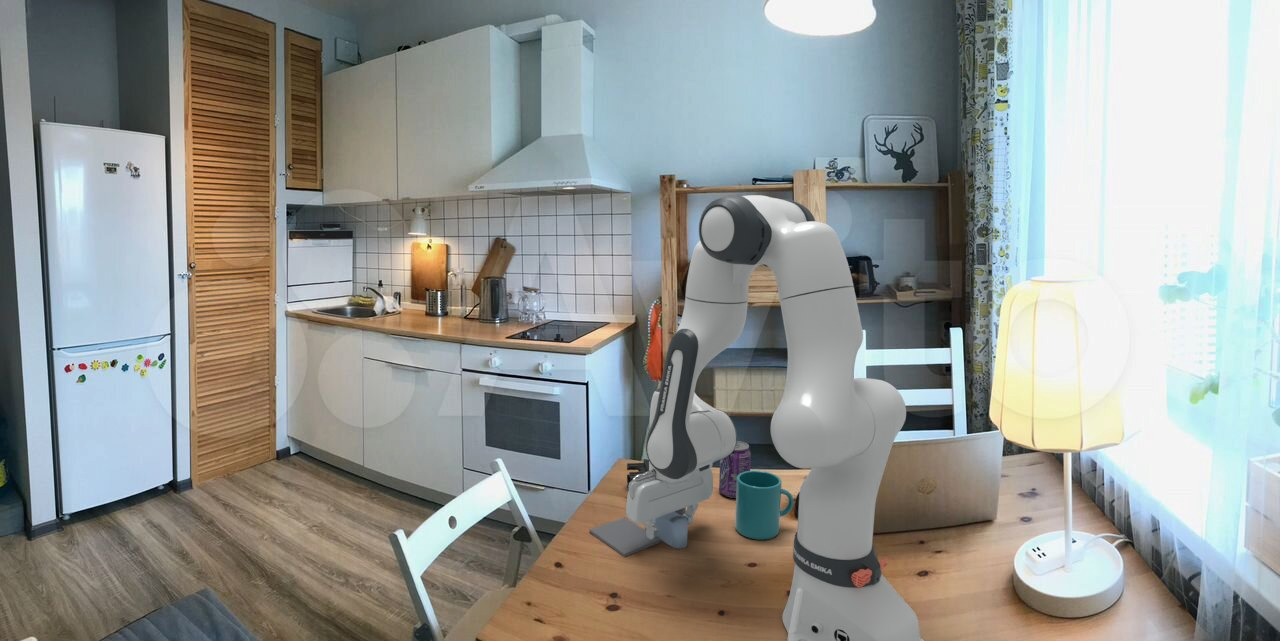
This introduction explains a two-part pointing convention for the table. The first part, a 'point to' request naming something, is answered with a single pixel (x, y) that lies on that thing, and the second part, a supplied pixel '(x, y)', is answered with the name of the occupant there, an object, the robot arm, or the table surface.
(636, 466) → the end cap
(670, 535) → the blue connector
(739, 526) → the cup
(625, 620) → the table surface
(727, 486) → the beverage can
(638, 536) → the pad
